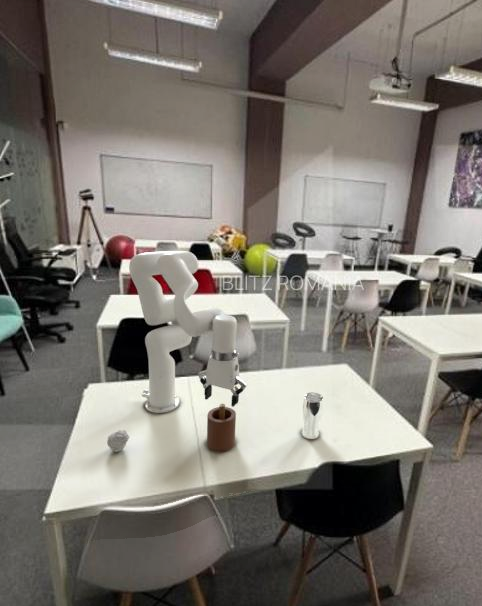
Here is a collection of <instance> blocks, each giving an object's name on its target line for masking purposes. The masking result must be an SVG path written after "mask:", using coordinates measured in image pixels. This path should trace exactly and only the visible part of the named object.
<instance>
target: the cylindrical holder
mask: <svg viewBox="0 0 482 606" xmlns="http://www.w3.org/2000/svg"><path fill="white" fill-rule="evenodd" d="M219 408H220V406H217V407H214V408H212V409H210V410H209V411H208V413H207V417H206V418H207V420H206V421H207V423H206V446H207V448H208V449H209V450H211V451H213V452H216V453H217V452H218V453H222V452H223V453H224V452H227V451H230V450H231V449H232V448H233V447H234V446H235V441H236V421H237V413H236V411H235V410H234V409H233V408H231V407H228V406H225V420H219Z"/></svg>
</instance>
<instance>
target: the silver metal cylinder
mask: <svg viewBox="0 0 482 606" xmlns="http://www.w3.org/2000/svg"><path fill="white" fill-rule="evenodd" d="M323 409H324V397H323V395H321V394H320V393H319V392H307V393H306V394H304V398H303V404H302V417H303V428H302V431H301V435H302V437H303V438H305V439H307V440H315V439H317V438H318V437H319V434H320V433H319V425H320V421H321V418H322V414H323Z"/></svg>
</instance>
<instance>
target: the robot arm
mask: <svg viewBox="0 0 482 606" xmlns="http://www.w3.org/2000/svg"><path fill="white" fill-rule="evenodd" d="M128 266H129V267H128V269H129V275H130V278H131V280H132V282H133V284H134V286H135V288H136V290H137V291H136V292H137V294H138V299H139V302H140V303H139V304H140V307H141V312H142V315H143V318H144V320H145V323H146V324H147V325H148V326H158V325H163V324H167V323H170V322H171V325H165V326H162V327H158V328H155V329H152V330H151V331H149V332H147V334H146V336H145V337H144V344H145V348H146V352H147V359H148V362H147V363H148V388H149V389H147V388H144V389H143V391H142V394H141V397H142V398H146V401H145V403H144V405H145V406H144V407H145V409H146V410H147V411H148V412H151V413H154V414H164V413H169V412H171V411H173V410H175V409H176V408H178V407H179V405H180V398H179V397H178V396H177V395H176V361H175V359H174V358H173V356H172V355H171V354H170V352H173V351H175V350H179V349H182V348H185V347H187V346H189V345H190V344H191V342H192V339H193V337H194V338H197V337H200V336H204V335H207V334H210V333H211V352H210V353H211V354H210V355H209V357H208V361H207V366H206V369H205V370H201V371H199V372H198V373H197V376H198V378H199V382H200V383H201V385H202V388H203V389H204V400H209V398H211V397H212V393H213V387H217V388H222V389H224V390H230V392H231V394H232V395H231V404H230V405H231V407H232V408H234V407H235V406H236V405H237V404H239V400H240V399H239V397H240V394H242V392H243V391H244V390H245V389H246V388H247V386H248V383H247V382H246V381H244V380H243V378H241V377H240V366H239V359H238V358H239V356H240V353H239V352H237V349H236V346H237V331H238V321H237V319H236V317H234V316H233V315H230V314H226V313H225V312H224V311H223V310H221V309H220V308H218V307H213V308H208V309H203V310H199V311H195V312H192V311H191V309H190V308H189V306H188V304H187V302H186V300H188V299H189V298H190V297H192V295H194V294H195V293H196V291H197V290H198V287H199V282H198V281H197V279H196V278H195V277H194V274H195V273H197V271H198V270H199V261H198V258H197V256H196V255H195V254H194V253H192V252H191V251H188V250H187V251H186V250H185V251H182V250H164V251H150V252H149V251H147V252H141V253H138V254H135V255H133V256H132V257H131V259H130V261H129V265H128ZM157 275H158V276H159V275H161V276H162V277H163V279H164V281H165V282H166V284H167V285H168V287H169V288H170V289H171V291H172V293H173V295H174V296H167V297H165V296H164V292H163V288H162V285H161V283H159V282H158V280H156V279H155V278H154V277H153V276H157ZM238 385H239V386H240V387H239V386H238Z"/></svg>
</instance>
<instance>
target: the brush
mask: <svg viewBox="0 0 482 606" xmlns="http://www.w3.org/2000/svg"><path fill="white" fill-rule="evenodd" d="M219 407H220V408H219V420H225V407H226V404H225V403H220V404H219Z"/></svg>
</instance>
